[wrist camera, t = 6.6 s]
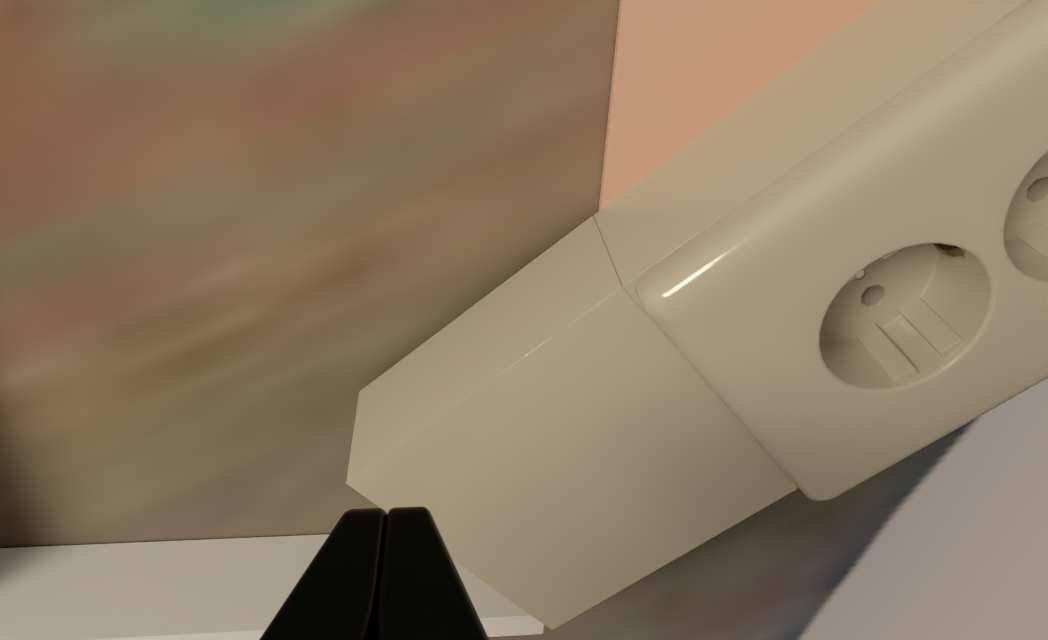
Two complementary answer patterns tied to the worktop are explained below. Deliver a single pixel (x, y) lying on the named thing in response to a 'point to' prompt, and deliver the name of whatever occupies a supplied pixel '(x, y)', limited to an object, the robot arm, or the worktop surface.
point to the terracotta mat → (699, 70)
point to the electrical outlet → (743, 316)
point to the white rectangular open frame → (180, 590)
